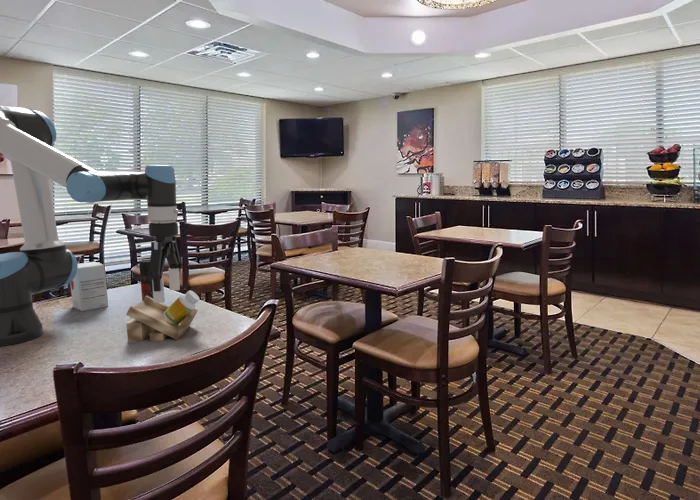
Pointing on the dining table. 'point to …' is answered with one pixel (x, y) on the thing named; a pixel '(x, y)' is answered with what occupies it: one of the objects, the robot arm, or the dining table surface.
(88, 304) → the supplement box
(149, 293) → the deodorant
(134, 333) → the cradle
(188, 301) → the supplement bottle
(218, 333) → the dining table surface
